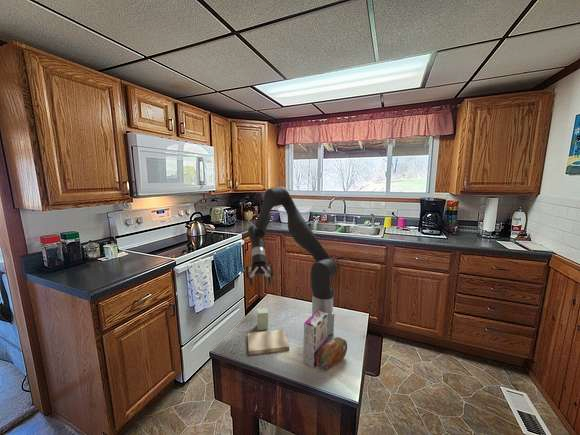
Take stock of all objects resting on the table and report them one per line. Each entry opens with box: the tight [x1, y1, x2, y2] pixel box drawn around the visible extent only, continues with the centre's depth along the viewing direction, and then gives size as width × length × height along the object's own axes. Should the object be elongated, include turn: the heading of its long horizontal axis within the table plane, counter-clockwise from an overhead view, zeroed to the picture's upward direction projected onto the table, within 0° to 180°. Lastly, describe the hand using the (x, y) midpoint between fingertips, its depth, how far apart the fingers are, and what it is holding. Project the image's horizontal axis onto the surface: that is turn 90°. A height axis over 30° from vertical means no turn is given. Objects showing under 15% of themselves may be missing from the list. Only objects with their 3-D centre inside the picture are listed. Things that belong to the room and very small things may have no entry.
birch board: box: [247, 329, 290, 356], centre depth 102 cm, size 16×12×2 cm
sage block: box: [256, 307, 269, 331], centre depth 113 cm, size 4×4×8 cm
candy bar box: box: [303, 310, 329, 369], centre depth 93 cm, size 11×5×16 cm, turn 147°
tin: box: [316, 337, 348, 372], centre depth 91 cm, size 15×3×8 cm, turn 130°
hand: (260, 285), depth 124 cm, fingers open, 8 cm apart
